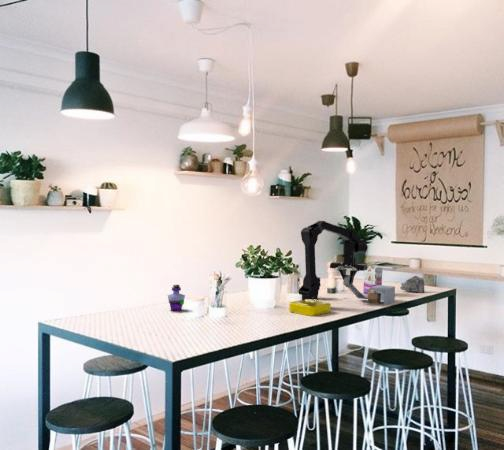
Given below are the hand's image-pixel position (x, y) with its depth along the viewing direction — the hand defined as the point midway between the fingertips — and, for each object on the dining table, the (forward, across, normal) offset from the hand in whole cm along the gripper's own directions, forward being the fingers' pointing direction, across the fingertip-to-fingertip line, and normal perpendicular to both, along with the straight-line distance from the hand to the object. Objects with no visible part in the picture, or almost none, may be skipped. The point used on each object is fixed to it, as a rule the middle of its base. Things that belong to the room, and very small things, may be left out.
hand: (348, 283), depth 272 cm
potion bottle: (+11, +58, +68) cm, 90 cm away
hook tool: (+5, -2, -6) cm, 8 cm away
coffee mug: (+11, +23, -4) cm, 26 cm away
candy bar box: (+11, +1, -38) cm, 40 cm away
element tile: (+11, +6, +32) cm, 34 cm away
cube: (+11, -9, -13) cm, 20 cm away
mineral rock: (+12, -14, -66) cm, 69 cm away
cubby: (+11, -12, -18) cm, 24 cm away
